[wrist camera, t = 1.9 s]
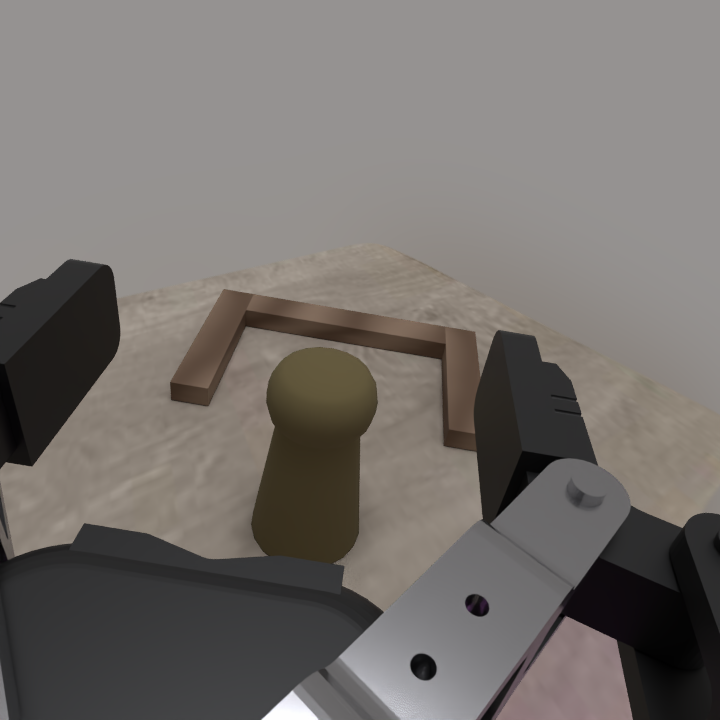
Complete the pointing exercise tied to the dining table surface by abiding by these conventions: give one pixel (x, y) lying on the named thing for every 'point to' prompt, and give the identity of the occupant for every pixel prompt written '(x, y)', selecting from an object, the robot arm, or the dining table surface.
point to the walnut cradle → (323, 322)
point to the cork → (314, 455)
